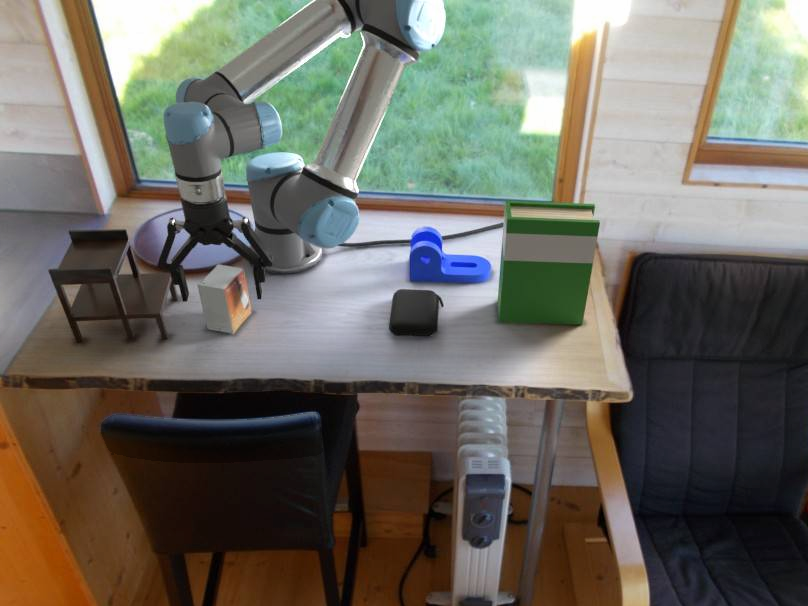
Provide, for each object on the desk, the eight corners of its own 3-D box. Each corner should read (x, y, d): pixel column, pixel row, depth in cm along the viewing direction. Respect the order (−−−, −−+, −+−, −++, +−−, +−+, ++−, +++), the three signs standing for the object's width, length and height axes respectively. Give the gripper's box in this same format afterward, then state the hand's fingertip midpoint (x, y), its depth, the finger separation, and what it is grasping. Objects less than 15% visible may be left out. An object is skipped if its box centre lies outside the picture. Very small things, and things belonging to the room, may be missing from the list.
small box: (233, 335, 144) (224, 290, 137) (206, 329, 145) (196, 284, 138) (252, 312, 150) (244, 267, 143) (227, 307, 151) (217, 263, 144)
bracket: (409, 280, 163) (409, 245, 157) (411, 260, 169) (411, 225, 163) (491, 283, 165) (493, 248, 159) (489, 263, 171) (492, 229, 165)
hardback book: (578, 304, 161) (594, 204, 145) (582, 324, 156) (600, 222, 140) (497, 301, 159) (505, 200, 144) (499, 322, 154) (507, 219, 138)
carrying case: (442, 341, 148) (443, 299, 159) (442, 329, 146) (444, 287, 157) (388, 339, 147) (393, 297, 158) (387, 327, 145) (393, 285, 156)
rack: (178, 297, 152) (160, 228, 141) (167, 339, 142) (146, 267, 131) (94, 300, 149) (69, 230, 138) (76, 343, 139) (48, 270, 128)
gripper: (121, 206, 124) (150, 309, 138) (276, 205, 129) (289, 305, 143) (130, 186, 130) (157, 287, 144) (278, 186, 135) (290, 284, 148)
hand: (223, 296), depth 143 cm, fingers open, 13 cm apart
